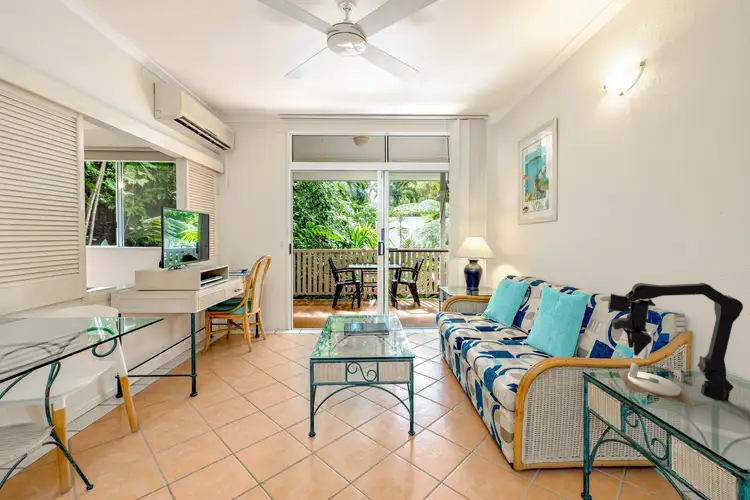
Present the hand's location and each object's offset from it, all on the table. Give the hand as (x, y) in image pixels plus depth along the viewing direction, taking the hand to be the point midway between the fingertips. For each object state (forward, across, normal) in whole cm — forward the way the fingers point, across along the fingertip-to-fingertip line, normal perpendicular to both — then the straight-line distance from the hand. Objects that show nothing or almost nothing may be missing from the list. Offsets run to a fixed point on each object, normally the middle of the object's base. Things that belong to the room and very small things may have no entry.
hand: (632, 351), depth 138 cm
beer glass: (+12, -22, +8) cm, 27 cm away
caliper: (+13, -16, +18) cm, 27 cm away
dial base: (+12, +5, +6) cm, 15 cm away
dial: (+11, +5, +6) cm, 13 cm away
